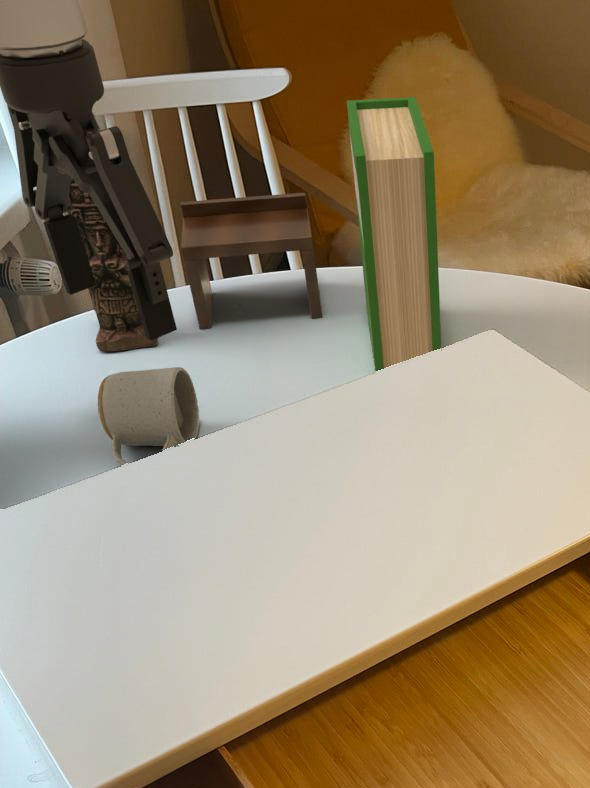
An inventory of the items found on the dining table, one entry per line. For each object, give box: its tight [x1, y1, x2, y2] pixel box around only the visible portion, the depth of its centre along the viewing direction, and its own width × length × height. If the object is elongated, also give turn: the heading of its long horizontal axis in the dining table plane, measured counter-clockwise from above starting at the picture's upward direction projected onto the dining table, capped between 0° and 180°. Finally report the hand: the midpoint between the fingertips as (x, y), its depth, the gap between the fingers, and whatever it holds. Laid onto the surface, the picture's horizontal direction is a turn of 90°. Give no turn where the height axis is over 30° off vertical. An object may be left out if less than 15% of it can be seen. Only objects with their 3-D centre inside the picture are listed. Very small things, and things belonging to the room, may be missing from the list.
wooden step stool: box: [180, 192, 323, 330], centre depth 115 cm, size 15×10×12 cm, turn 101°
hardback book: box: [346, 96, 442, 372], centre depth 103 cm, size 18×7×24 cm, turn 8°
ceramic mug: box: [97, 366, 200, 467], centre depth 94 cm, size 11×8×8 cm
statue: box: [67, 178, 159, 352], centre depth 106 cm, size 7×7×20 cm
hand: (120, 311), depth 86 cm, fingers open, 13 cm apart
